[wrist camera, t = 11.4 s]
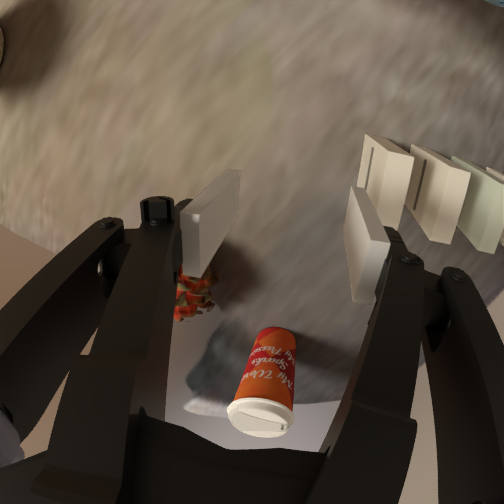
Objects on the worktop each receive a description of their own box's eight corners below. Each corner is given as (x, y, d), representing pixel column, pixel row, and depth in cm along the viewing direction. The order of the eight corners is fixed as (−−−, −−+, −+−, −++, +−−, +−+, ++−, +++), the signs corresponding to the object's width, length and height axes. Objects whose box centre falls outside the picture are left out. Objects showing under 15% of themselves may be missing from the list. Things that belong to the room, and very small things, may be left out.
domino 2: (410, 143, 26) (448, 166, 18) (428, 148, 26) (471, 173, 18) (398, 197, 29) (428, 239, 21) (416, 201, 29) (450, 244, 20)
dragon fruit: (209, 217, 37) (199, 285, 44) (138, 223, 33) (141, 292, 41) (233, 267, 31) (217, 332, 39) (149, 277, 28) (153, 344, 35)
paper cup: (305, 323, 40) (296, 412, 28) (300, 360, 43) (290, 442, 31) (247, 317, 41) (221, 402, 29) (249, 355, 45) (227, 433, 33)
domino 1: (363, 133, 27) (386, 150, 18) (384, 137, 27) (414, 157, 18) (354, 189, 30) (369, 229, 21) (374, 193, 30) (396, 234, 21)
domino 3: (450, 155, 26) (498, 182, 17) (466, 160, 25) (515, 189, 17) (438, 206, 29) (476, 250, 20) (453, 210, 28) (493, 254, 20)
